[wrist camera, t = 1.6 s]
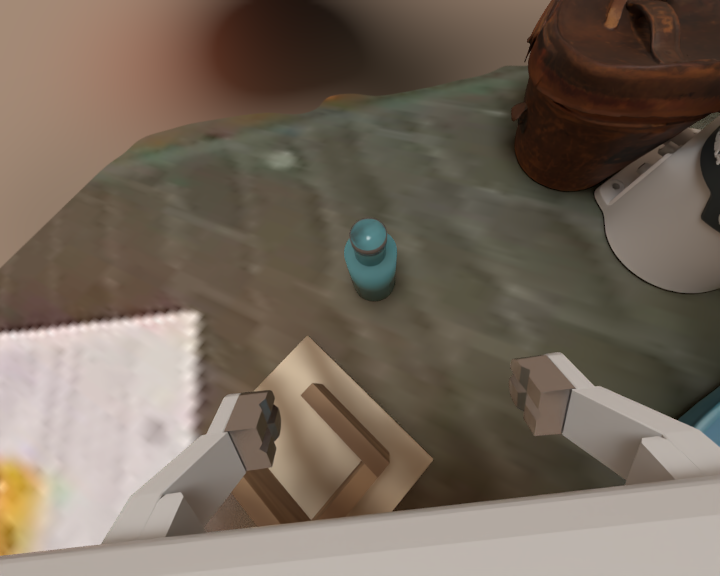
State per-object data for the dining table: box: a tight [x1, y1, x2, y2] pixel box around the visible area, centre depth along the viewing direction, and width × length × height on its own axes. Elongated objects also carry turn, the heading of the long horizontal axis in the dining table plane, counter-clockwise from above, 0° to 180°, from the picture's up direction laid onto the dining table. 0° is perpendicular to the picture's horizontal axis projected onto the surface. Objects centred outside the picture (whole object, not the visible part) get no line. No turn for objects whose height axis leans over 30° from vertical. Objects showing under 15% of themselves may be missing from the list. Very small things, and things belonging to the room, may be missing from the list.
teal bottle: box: [344, 218, 397, 301], centre depth 32 cm, size 5×5×12 cm
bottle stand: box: [231, 335, 434, 527], centre depth 30 cm, size 16×18×6 cm
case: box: [511, 0, 720, 191], centre depth 33 cm, size 18×20×18 cm
